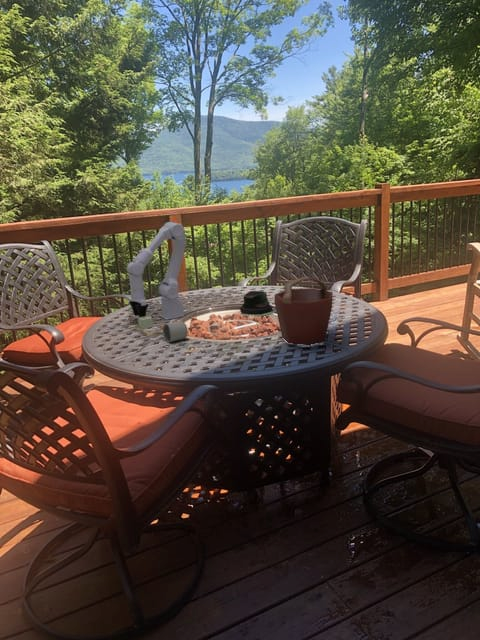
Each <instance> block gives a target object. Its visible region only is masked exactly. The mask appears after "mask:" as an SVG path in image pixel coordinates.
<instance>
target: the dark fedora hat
mask: <svg viewBox="0 0 480 640" xmlns="http://www.w3.org/2000/svg"><path fill="white" fill-rule="evenodd" d="M267 294H268V293H267V292H266V291H262V290H251V291H247V293H245V294H244V296H243V303H242V305H241V306H240V309H239V312H240V313H241V314H243V316H245V317H261V316H263V317H264V316H269V315H272V314H274V313H277V311H276V309H273V307H272V305H271V304H270V302H269V300H268V295H267Z"/></svg>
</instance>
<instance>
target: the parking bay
mask: <svg viewBox="0 0 480 640" xmlns="http://www.w3.org/2000/svg"><path fill="white" fill-rule="evenodd" d="M163 326H164V325H163V324H161V323H157V324H156V327H158V328H159V329H160V330H158V331H153V332H148V331H146V330H144V329H142V328H141V327H139V326H138V327H137V330H138V332H140V333H141V334H142V335H144V336H145V337H147V338H151V337H155V336H159V335H163Z"/></svg>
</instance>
